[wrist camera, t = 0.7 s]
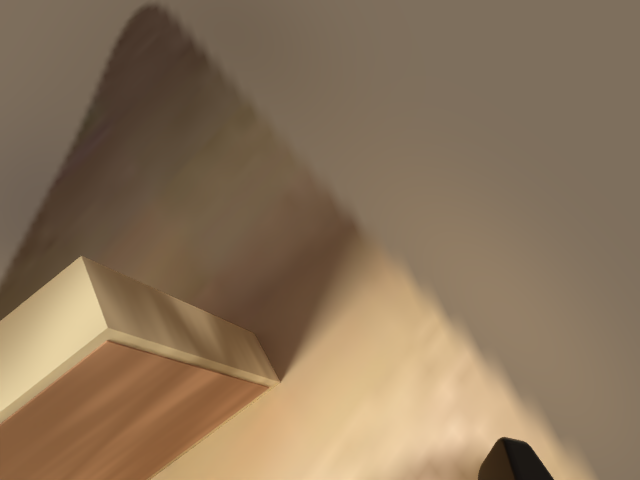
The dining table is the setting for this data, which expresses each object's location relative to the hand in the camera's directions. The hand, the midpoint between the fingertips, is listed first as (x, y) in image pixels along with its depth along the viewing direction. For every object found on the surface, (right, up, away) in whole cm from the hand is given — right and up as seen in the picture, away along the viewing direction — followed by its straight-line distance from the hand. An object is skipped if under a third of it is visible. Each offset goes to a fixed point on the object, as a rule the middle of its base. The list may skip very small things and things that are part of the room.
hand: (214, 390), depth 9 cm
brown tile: (-5, -6, +15) cm, 17 cm away
